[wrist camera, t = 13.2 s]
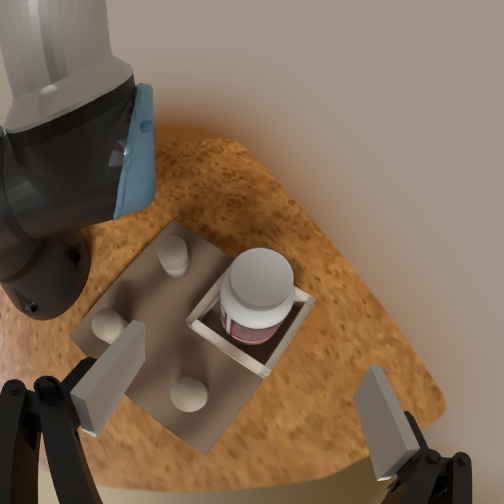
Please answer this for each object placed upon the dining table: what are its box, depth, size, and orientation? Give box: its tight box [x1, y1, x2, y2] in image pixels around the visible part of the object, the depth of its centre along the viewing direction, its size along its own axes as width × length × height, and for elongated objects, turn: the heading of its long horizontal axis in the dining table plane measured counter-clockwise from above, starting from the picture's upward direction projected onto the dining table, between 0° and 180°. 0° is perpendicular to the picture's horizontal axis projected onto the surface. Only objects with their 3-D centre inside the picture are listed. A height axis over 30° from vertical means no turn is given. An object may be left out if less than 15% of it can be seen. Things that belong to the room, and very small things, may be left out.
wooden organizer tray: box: [70, 220, 316, 455], centre depth 28 cm, size 20×20×7 cm
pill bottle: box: [220, 248, 295, 345], centre depth 25 cm, size 6×6×11 cm
